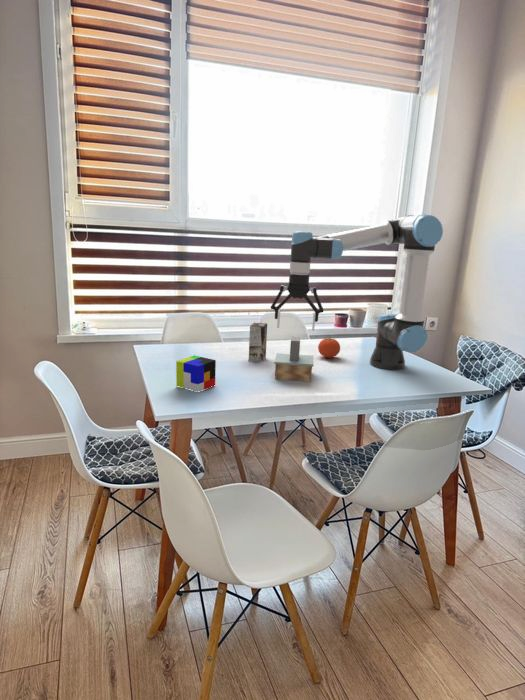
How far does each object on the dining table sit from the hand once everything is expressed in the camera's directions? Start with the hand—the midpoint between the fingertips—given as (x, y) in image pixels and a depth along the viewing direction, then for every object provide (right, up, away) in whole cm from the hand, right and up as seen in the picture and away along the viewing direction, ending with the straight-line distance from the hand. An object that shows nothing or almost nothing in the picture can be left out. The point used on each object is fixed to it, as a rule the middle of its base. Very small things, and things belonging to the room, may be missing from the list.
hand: (295, 328), depth 182 cm
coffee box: (-15, -13, +28) cm, 34 cm away
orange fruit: (+18, -12, +37) cm, 42 cm away
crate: (-1, -19, +5) cm, 20 cm away
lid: (0, -14, +4) cm, 14 cm away
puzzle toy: (-37, -22, -10) cm, 44 cm away
